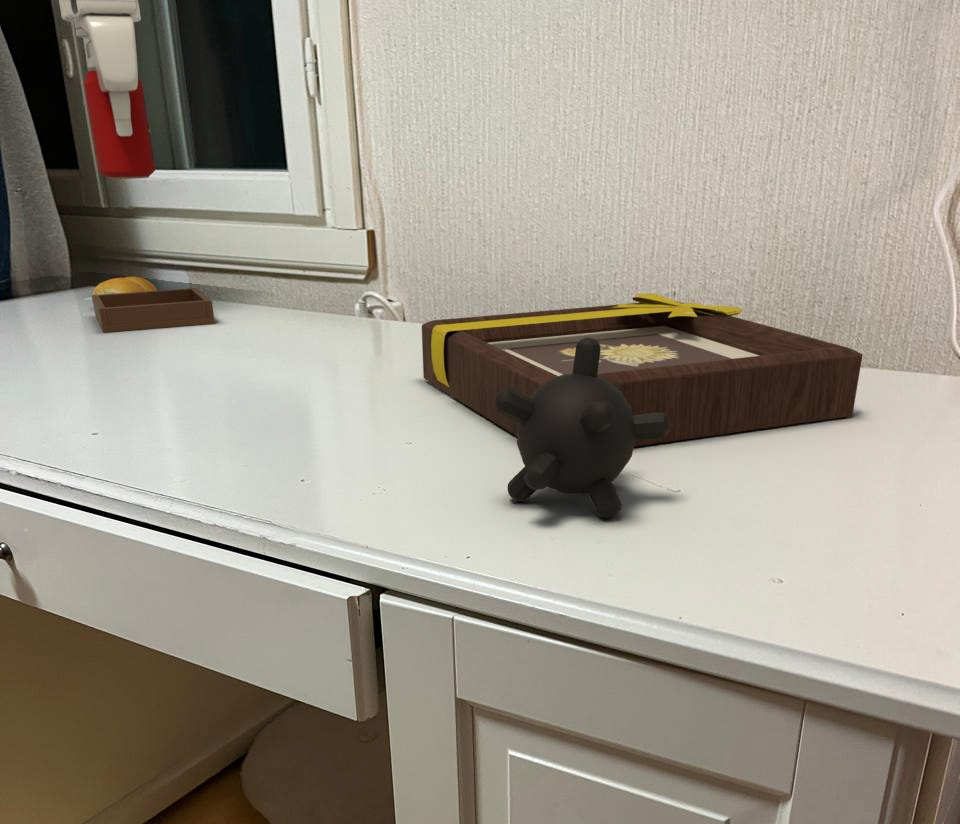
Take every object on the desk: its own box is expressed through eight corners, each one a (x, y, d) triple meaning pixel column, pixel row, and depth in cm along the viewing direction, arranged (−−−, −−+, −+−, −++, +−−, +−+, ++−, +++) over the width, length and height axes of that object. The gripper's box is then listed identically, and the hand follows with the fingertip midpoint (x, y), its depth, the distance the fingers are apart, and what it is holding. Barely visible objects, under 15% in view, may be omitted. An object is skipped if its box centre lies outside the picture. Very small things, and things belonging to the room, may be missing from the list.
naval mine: (428, 463, 63) (519, 378, 70) (544, 581, 64) (621, 485, 71) (516, 367, 54) (609, 281, 62) (647, 505, 56) (723, 404, 63)
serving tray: (103, 332, 121) (98, 309, 120) (95, 316, 131) (91, 294, 130) (215, 323, 126) (211, 300, 125) (199, 309, 136) (196, 287, 135)
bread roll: (169, 301, 142) (164, 272, 141) (137, 312, 135) (132, 281, 133) (117, 300, 144) (112, 271, 142) (83, 310, 136) (77, 279, 134)
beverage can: (166, 176, 126) (150, 68, 120) (140, 179, 120) (122, 65, 114) (117, 177, 127) (99, 69, 121) (89, 179, 121) (69, 67, 116)
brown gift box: (415, 310, 93) (686, 288, 103) (418, 381, 96) (680, 353, 106) (546, 372, 70) (879, 336, 80) (544, 462, 73) (865, 416, 83)
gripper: (65, 11, 122) (88, 136, 129) (76, -8, 106) (101, 136, 112) (118, 12, 124) (138, 135, 131) (137, -7, 108) (158, 135, 114)
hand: (121, 136), depth 121 cm, fingers closed on beverage can, 7 cm apart
